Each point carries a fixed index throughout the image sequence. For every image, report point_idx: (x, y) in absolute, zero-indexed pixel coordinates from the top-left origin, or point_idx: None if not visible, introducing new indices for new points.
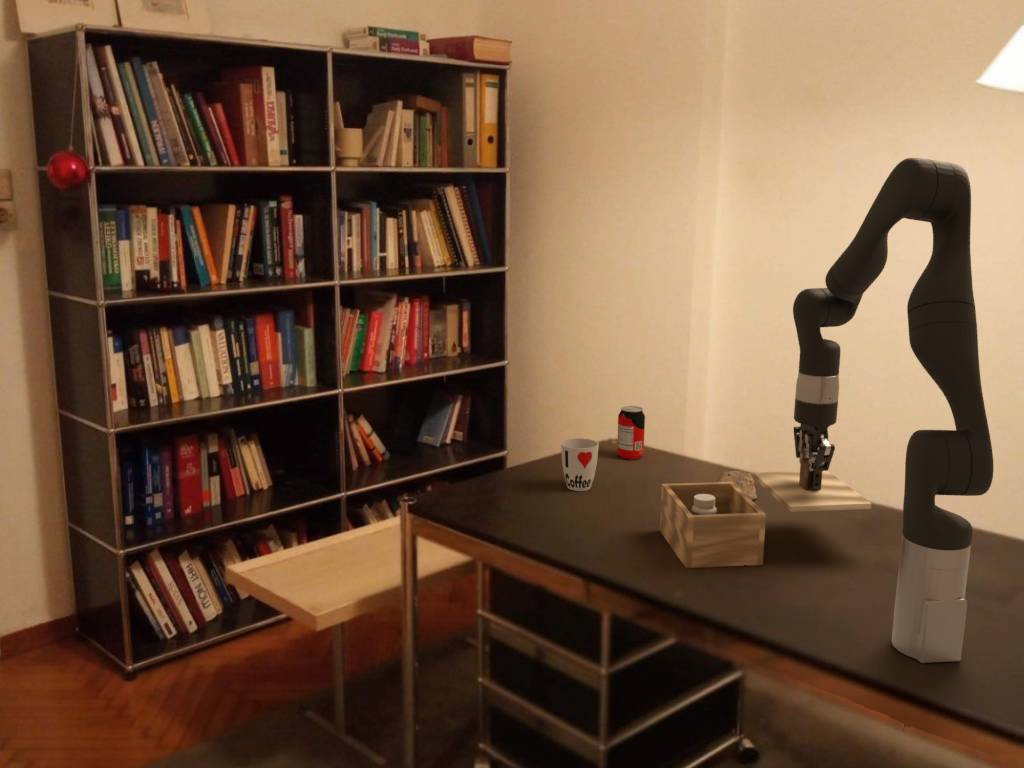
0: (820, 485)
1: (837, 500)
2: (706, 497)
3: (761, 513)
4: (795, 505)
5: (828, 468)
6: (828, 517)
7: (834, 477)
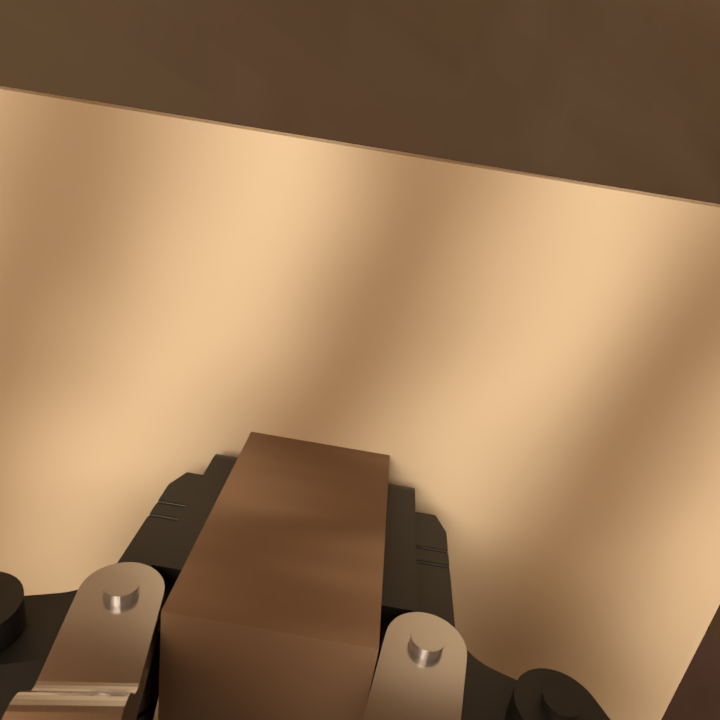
0: (413, 504)
1: (673, 479)
2: None
3: None
4: None
5: (604, 715)
6: (46, 9)
7: (78, 130)
